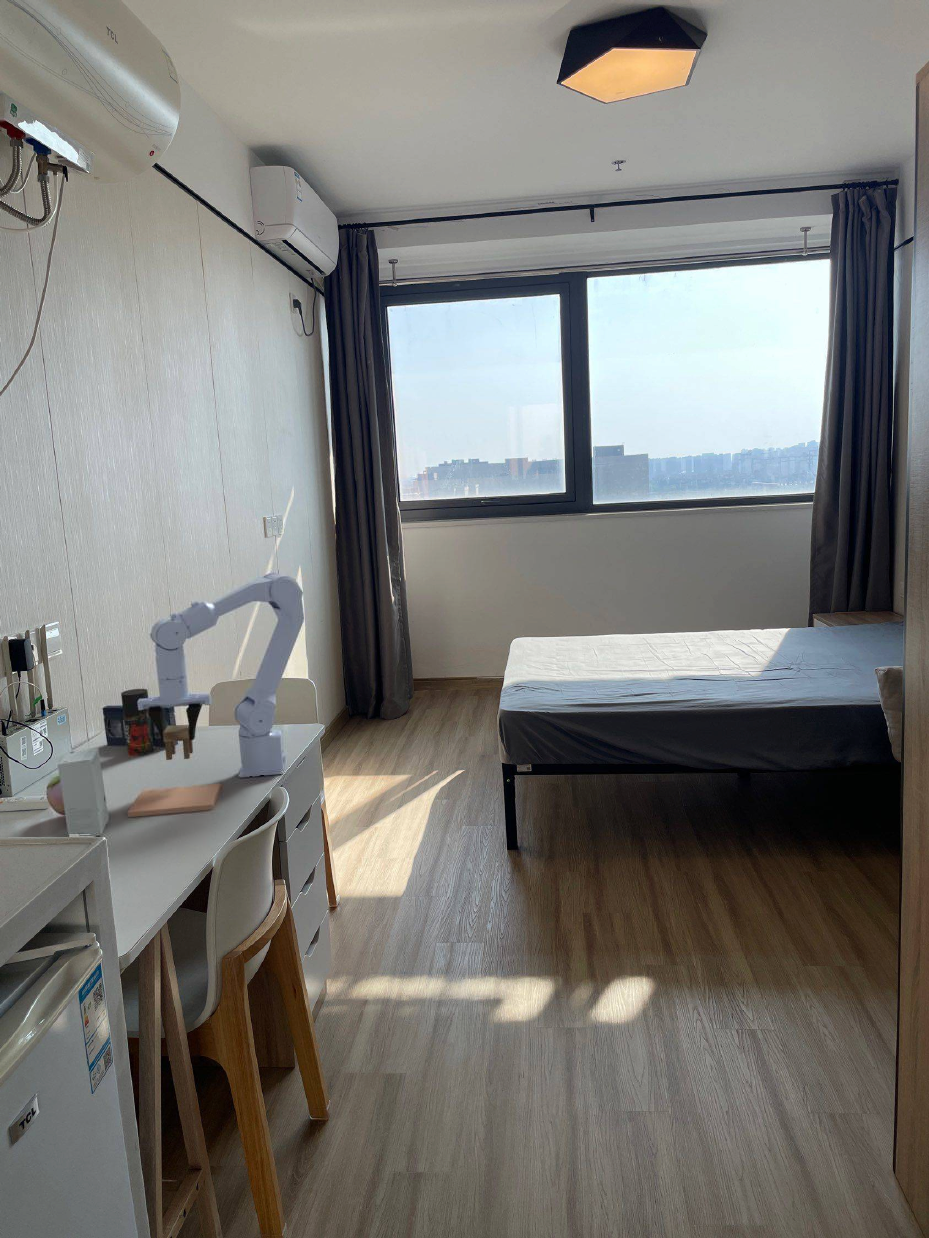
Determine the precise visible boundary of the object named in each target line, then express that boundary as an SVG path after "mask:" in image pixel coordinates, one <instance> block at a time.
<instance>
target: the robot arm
mask: <svg viewBox="0 0 929 1238" xmlns="http://www.w3.org/2000/svg"><path fill="white" fill-rule="evenodd" d="M303 595H304V592H303V590H302V588H301V587H300V585H299V582H297V580H296V579H295V578H293V577H292V576H289V575H288V576H287V575H282V574H280V573H276V572H269V573H266V574H265V575H264V576H262V577H257V578H255V579H253V580H251V581H249V582H247V583H245V584H244V585H242V586H240V587H238V588H236V589H235V590H233V591H231V592H229V593H228V594H227V593H226V594H225V595H223V596H222V597H219V598H217V600H215V601H213V602H211V603H210V602H207V601H203V600H201V601H199V602H198V601H193V602H191V603H190V607H188V608H186V609H184V610H182V611H180V612H178V613H176V612H173V613H170V615H169V617H170V619H169V618H161V619H159V620H157V621H156V622H155V623H154V625H153V626H152V628H151V631H150V633H149V635H150V639H151V640H152V642H153V643H154V647H155V664H156V674H157V682H158V692H159V695H158V696H153V697H148V698H145V699H139V700H138V701H137V702H138V710H144V709H149V712H148V715H149V717H150V718H151V720H152V721H153V722H154V724H155V726H156V727H157V729H158V732H159V734H160V737H161V740H162V742H164V740H163V732H164V730H165V729H166V721H165V707H174V708H175V707H187V708H186V709H185V710H186V711H185V712H186V717H187V723H188V725H189V737H190V740H192V741H194V740H195V738H196V730H197V729H196V728H197V723H198V719H199V716H200V713H201V710H202V707H203V705H205V706H210V705H211V704H212V694H211V693H189V687H188V686H189V685H188V676H187V668H186V667H187V665H186V656H185V651H184V644H185V642H186V641H187V639H188V640H190V639H191V638H194V637H195V636H197V635H200V634H202V633H203V632H204V631H207V630H208V629H211V628H213V627H215V626H216V624H217V623H218V619H219V618H220V617H221V616H224V615H226V614H227V613H230V612H233V611H235V610H236V609H240V608H241V607H243V606H246V605H248V604H250V603H252V602H261V603H268V604H269V605H270V606H271V608H272V610H273V612H274V614H275V616H276V618H277V622H276V625H275V627H274V630H273V633H272V635H271V638H270V640H269V643H268V646H267V648H266V650H265V652H264V655H263V658H262V661H261V663H260V666H259V668H258V671H257V673H256V676H255V679H254V681H253V684H252V686H250V687H249V688H248V690H247V691H246V692H245V693H244V696H243V697H242V699H241V700H240V701H239V702H238V703H237V704H236V706H235V708H234V712H233V713H234V714H233V715H234V719H235V720H236V721H235V722H237V723H238V724H239V726H240V727H239V729H238V741H239V742H238V743H239V753H240V763H241V764H240V765H241V767H240V770H239V773H238V775H237V776H238V778H249V777H250V776H252V777H260V775H264V776H272V775H282V774H284V770H285V764H286V754H285V747H284V736H283V731H282V730H281V729H277V730H275V729H273V726H274V723H275V710H276V707H277V701H276V693H277V690H278V688H279V686H280V683H281V680H282V677H283V675H284V672H285V670H286V668H287V665H288V662H289V660H290V658H291V657H290V656H291V655H292V652H293V650H294V647H295V644H296V642H297V639H298V637H299V633H300V631H301V629H302V626H303V623H304V621H305V613H304V605H303V598H302V597H303ZM250 778H251V777H250Z"/></svg>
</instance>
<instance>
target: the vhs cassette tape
mask: <svg viewBox="0 0 929 1238" xmlns="http://www.w3.org/2000/svg"><path fill="white" fill-rule="evenodd" d="M175 713H176V712H175V707H165V721H166V728H167V726H174V725H177V721H176V720H177V719H176V715H175ZM102 715H103V722H104V724H103V725H104V730H105V732H104V733H105V738H106V745H107V746H109V747H127V740H126V732H125V723H124V714H123V706H122V705H105V706H104V707H102ZM151 727H152V736H153V745H154V748H158V747H159V748H160V747H162V748H165V742H162V740H161V737H160V734H159V732H158V729H157V727H156V726H155V724H154V722H153V721H152V720H151ZM178 743H179V741H175V746H177V745H178Z"/></svg>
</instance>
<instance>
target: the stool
mask: <svg viewBox="0 0 929 1238" xmlns="http://www.w3.org/2000/svg"><path fill="white" fill-rule="evenodd" d="M163 740H164V742H165V747H164V748H165V759H166V761H170V760H172V759H173V755H176V753H177V752H176V751H177V750H176V745H175V741H178V742H182V747H183V759H184V760H189V759H190V757H191V754H193V753H194V747H193V746H194V745H193V740H190V737H189V724H179V725H178V724H176V725H174V726H167V728H166V729H165V730H164V732H163Z"/></svg>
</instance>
